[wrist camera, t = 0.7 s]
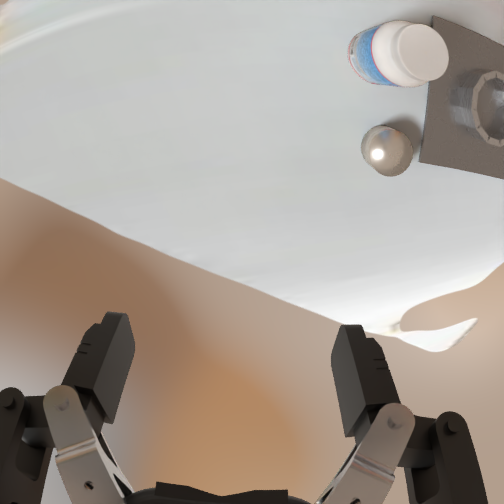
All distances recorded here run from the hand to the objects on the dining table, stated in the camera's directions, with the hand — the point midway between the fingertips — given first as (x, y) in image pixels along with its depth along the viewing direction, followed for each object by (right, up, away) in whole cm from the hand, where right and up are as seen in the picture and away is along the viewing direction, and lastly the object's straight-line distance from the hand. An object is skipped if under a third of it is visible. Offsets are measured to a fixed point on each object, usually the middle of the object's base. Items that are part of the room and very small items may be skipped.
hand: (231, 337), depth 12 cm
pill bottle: (+13, +23, +15) cm, 31 cm away
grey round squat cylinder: (+15, +15, +20) cm, 29 cm away
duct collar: (+29, +21, +16) cm, 40 cm away
